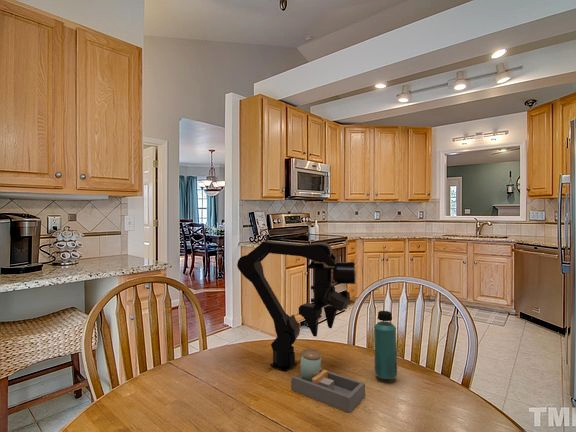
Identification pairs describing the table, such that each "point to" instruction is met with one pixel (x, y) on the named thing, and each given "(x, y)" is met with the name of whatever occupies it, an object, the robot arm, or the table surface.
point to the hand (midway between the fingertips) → (322, 332)
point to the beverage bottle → (385, 347)
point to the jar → (310, 364)
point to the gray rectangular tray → (332, 391)
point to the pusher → (323, 380)
